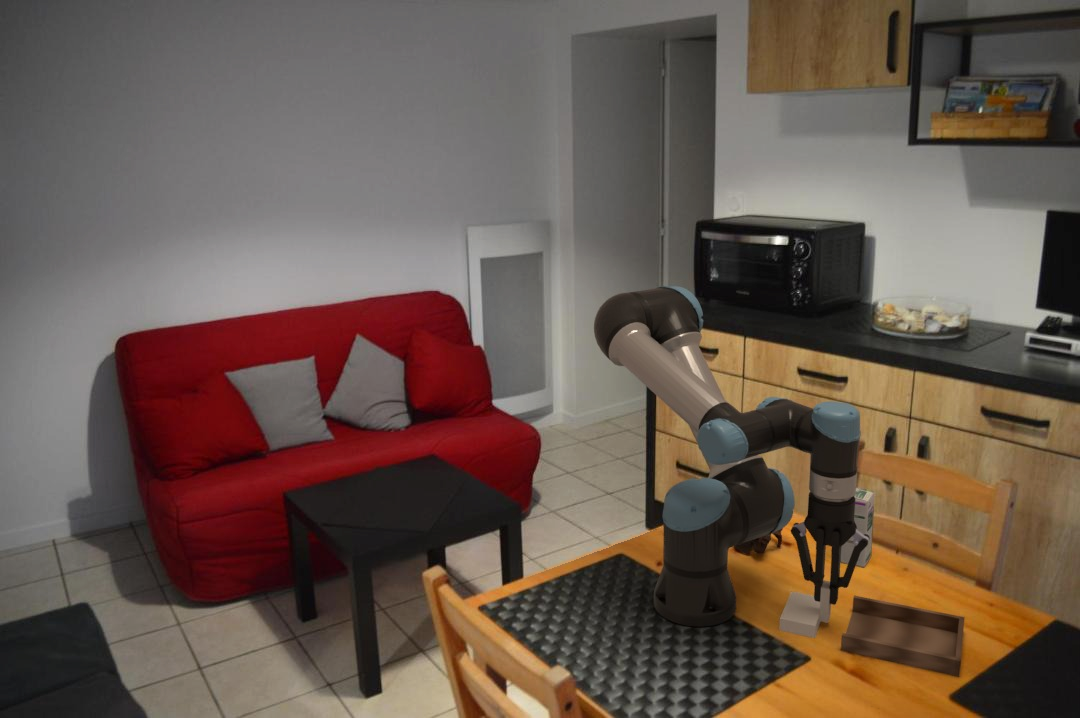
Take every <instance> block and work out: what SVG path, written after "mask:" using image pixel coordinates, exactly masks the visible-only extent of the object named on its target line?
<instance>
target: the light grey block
mask: <svg viewBox="0 0 1080 718" xmlns="http://www.w3.org/2000/svg"><path fill="white" fill-rule="evenodd" d="M788 596H789V597H788V599H787V601H786V603H785V606H784V608H783V610H782V613H781V615H780V618H779V625H778V626H779V627H778V629H779V631H781V632H784V633H790V634H794V635H799V636H803V637H808V638H813V639H815V638H816V637H817V634H818V630H819V628H820V624H821V623H822V622H821V621H819V614H820V602H818V601H815V599H814V594H813V595H811V594H807V593H802V592H797V591H791V592H790V594H789V595H788Z"/></svg>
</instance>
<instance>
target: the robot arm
mask: <svg viewBox="0 0 1080 718" xmlns="http://www.w3.org/2000/svg"><path fill="white" fill-rule="evenodd" d="M703 316H704V314H703V309H702V307H701V304H700V302H699V300H698V299H697V297H696V296H695V294H693V293H692V292H691V291H690V290H688V289H686V288H685V287H682V286H678V285H676V286H675V285H673V286H671V285H670V286H668V285H667V286H666V285H662V286H658V287H656V288H650V289H645V290H643V289H642V290H637V291H631V292H630V291H629V292H621V293H617V294H615V295H613V296H611V297H609V298H608V299H607V300H606V301H604V302H603V303H602V304H601V306H600V307H599V308H598V310H597V312H596V316H595V317H594V320H593V321H594V322H593V333H594V338H595V341H596V344H597V346H598V347H599V349H600V351H601V353H602V354H603V355H604V356H605V357H606V358H607V359H608V360H610V362H612V364H614V365H616V366H618V367H625V368H626V369H627V370H628V371H629V372H630V373H631V374H632V375H634V377H635V378H637V379H638V380H639V381H640V382H641V383H642V384H643V385H645V386H646V387H647V388H648V389H649V391H651V392H653V393H654V394H655V396H656V397H658V398H659V399H660V400H661V401H662V402H663V403H664V404H665V405H666V406H668V407H669V409H671V410H672V411H673V412H674V413H675V414H676V415H678V416H679V418H681V420H683V421H684V422H685V423H686V424H687V425H688V427H689V429H690V431H691V433H692V435H693V437H694V439H695V442H696V443H697V445H698V449H699V451H700V452H701V454H702V457H703V459H704V460H705V463H706V465H707V467H708V469H709V475H708V477H701V478H699V479H697V478H696V477H693V478H688V479H685V480H682V481H679V482H678V483H675V484H674V485H672V487H670V488H669V489H668V490H667V492H666V493H665V496H664V499H663V501H664V502H663V510H662V521H663V523H662V524H663V545H662V546H663V549H662V550H663V555H662V556H663V560H662V561H663V564H662V568H661V571H660V574H659V577H658V579H657V582H656V584H655V588H654V591H653V606H654V608H655V611H656V612H657V613H658V614H659V615H660V616H662V617H663V618H664V619H666V620H668V621H671V622H672V623H674V624H675V623H676V624H679V625H681V626H686V627H687V626H688V627H699V628H700V627H701V628H702V627H703V628H704V627H710V626H711V627H712V626H716V625H719V624H723V623H725V622H726V621H729V620H730V619H731V618H733V616H734V615H735V614H736V610H737V594H736V591H735V588H734V586H733V582H732V579H731V576H730V573H729V569H728V558H729V557H728V555H729V554H728V553H729V549H730V548H733V547H734V546H736V545H739V544H742V543H745V542H747V541H750V540H753V539H756V538H759V537H762V536H768V535H771V536H772V535H773V534H772V533H774V532H775V531H778V530H780V529H782V528H783V529H784V528H785V527H786V526H788V524H789V523H790V522H791V520H792V518H793V516H794V510H795V506H796V505H795V504H796V501H795V499H796V498H795V494H794V490H793V486H792V484H791V482H790V480H789V478H788V477H787V476H786V474H784V473H783V472H780V470H779V469H776V468H772V467H771V468H770V467H768V465H767V464H766V461H765V460H764V457H763V456H762V455H763V454H766V453H770V452H774V451H777V450H781V449H784V448H793V449H796V450H799V451H801V452H804V453H806V454H810V457H809V459H810V460H809V461H810V463H809V464H810V465H809V483H808V489H809V492H808V497H807V498H808V501H807V502H808V503H807V515H806V516H805V518H804V521H802V522H800V523H799V522H794V523H793V525H792V526H791V529H790V533H791V535H792V537H793V538H794V540H795V543H796V547H797V550H798V551H797V552H798V556H799V562H800V566H801V570H802V574H803V579H804V581H807V582H811V583H813V585H814V593H813V596H814V599H815V601H818V602H820V614H819V621H821V622H820V623H825V624H826V623H827V624H828V623H829V620H830V617H831V610H832V605H834V606H835V605H836V604H837V603H838V599H839V589H840V588H844V589H846V588H848V587H849V584H850V582H851V580H852V576H853V575H854V572H855V569H856V567H857V566H856V564H857V561H858V558H859V555H860V553H861V551H862V550H863V549H864V548H865V547H866V546H867V545H868V542H869V538H870V537H869V535H867V534H864V535H863V534H862V533H861V532H859V531H858V530H857V526H856V524H855V521H854V513H855V497H854V495H855V494H856V488H857V483H858V481H857V479H858V456H859V448H860V439H861V435H862V434H861V431H862V430H861V415H860V411H859V409H858V408H857V407H856V406H855V405H852V404H850V403H848V402H839V401H837V400H836V401H833V400H832V401H831V400H830V401H822V402H819V403H817V404H816V405H814V407H809V406H806V405H804V404H801V403H798V402H796V401H793V400H792V399H788V398H785V397H784V398H783V397H778V396H769V397H766V398H764V399H763V400H762V401H761V402H759V403H758V405H757V406H756V408H755V409H754V410H750V411H746V412H741V411H739V410H738V409H737V408H736V407H735V406H733V405H732V404H731V403H730V402H729V401H727V400H726V399H725V397H724V395H723V393H722V391H721V389H720V387H719V384H718V382H717V381H716V379H715V376H714V374H713V372H712V370H711V368H710V367H709V364H708V362H707V361H706V360H707V359H705V357H704V355H703V352H702V349H701V348H700V347H699V346H700V343H701V341H702V339H703V336H702V334H701V331H702V330H703V326H704V319H703V318H702V317H703ZM783 529H782V530H783ZM807 531H808V533H809V534H810V536H811V537H812V539H813V540H814V542H815V564H814V565H815V566H814V568H813V562H812V558H811V553H810V547H809V543H808V539H807ZM852 536H853V537H854V540H853V544H854V545H855V546H854V549H853V552H852V554H851V557H850V560H849V563H848V564H846V568H845V571H844V574H843V576H840V575H841V563H842V562H841V547H842V545H844V544H845V543H846V542H847V541H848V540H849V539H850V538H851V537H852ZM827 546H829V547H831V550H830V551H831V561H830V579H829V580H824V579H825V568H826V565H825V564H826V553H827V552H826V550H827Z"/></svg>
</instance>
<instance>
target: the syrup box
mask: <svg viewBox="0 0 1080 718" xmlns="http://www.w3.org/2000/svg"><path fill="white" fill-rule="evenodd" d="M875 496H876V495H875V491H874V490H871V489H867V488H863V487H856V494H855V495H854V497H855V513H854V521H855V524H856V526H857V530H858V531H859V532H861V533H862V534H863V535H864V534H867V535H869V537H870V538H869V542H868V545H867V546H866V547H865V548H864V549H863V550H862V551H861V553H860V555H859V558H858V561H857V564H856V566H855V567H859V568H860V567H861V568H865V567H866V566H867V564H868V562H869V561H870V559H871V557H872V554H873V552H872V550H873V533H874V512H875ZM853 540H854V537H853V536H852V537H851V538H850V539H849V540H848V541H847V542H846V543H845V544H844V545H842V547H841V562H840V563H841V564H846V565H848V563H849V560H850V557H851V554H852V552H853V549H854V546H855V545H854V544H853Z"/></svg>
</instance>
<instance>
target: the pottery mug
mask: <svg viewBox="0 0 1080 718" xmlns="http://www.w3.org/2000/svg"><path fill="white" fill-rule="evenodd" d="M783 529H784V528H782V529H780V530H778V531H775V532H774V533H772V534H771V535H768V536H762V537H759V538H756V539H753V540H750V541H747V542H745V543H742V544H739V545H736V546H733V547H734V548H735V549H737V551H739V552H740V553H743V554H744V555H746V556H748V555H751V552H752V551H754V553H756V555H761V554H764V553H766V551H767V547H768V545H769V543H771V539H772V535H773V536H774V537H775V538H776V539H777V548H781V547H782V543H783V535H782V531H783Z"/></svg>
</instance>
